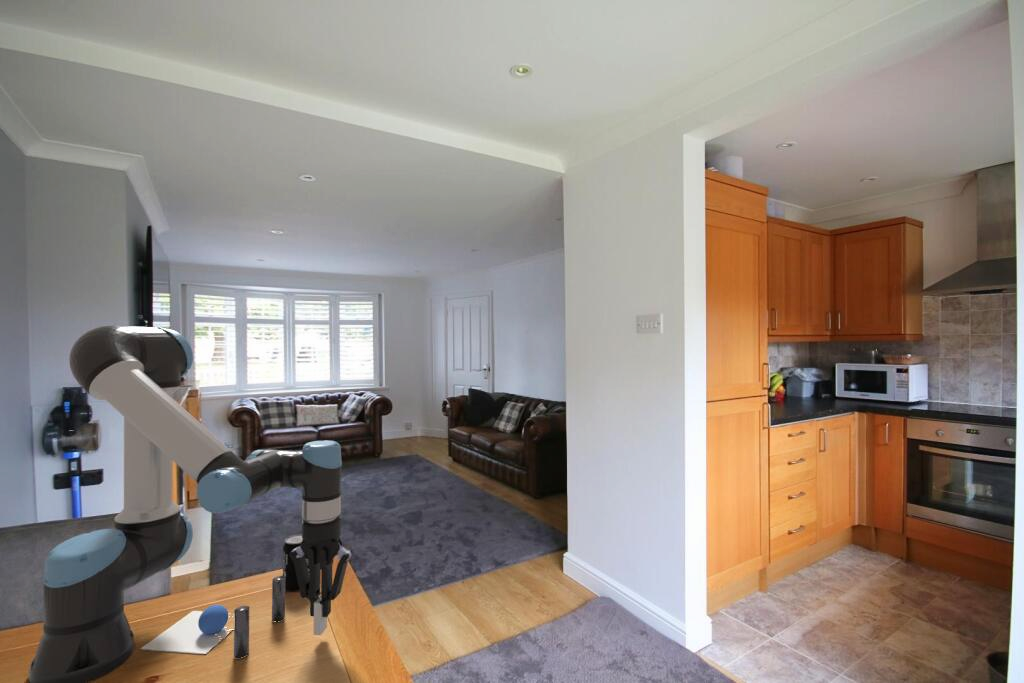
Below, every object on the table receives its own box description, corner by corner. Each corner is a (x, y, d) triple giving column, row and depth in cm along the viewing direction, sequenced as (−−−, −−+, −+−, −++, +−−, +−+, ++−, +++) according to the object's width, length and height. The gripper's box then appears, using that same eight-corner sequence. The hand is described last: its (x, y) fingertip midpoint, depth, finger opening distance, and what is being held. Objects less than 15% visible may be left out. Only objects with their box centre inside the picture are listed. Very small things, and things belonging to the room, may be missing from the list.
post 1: (230, 658, 95) (231, 612, 95) (239, 650, 98) (240, 605, 98) (243, 659, 95) (243, 613, 95) (251, 651, 97) (252, 606, 97)
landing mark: (140, 649, 98) (140, 648, 98) (193, 611, 112) (193, 610, 112) (205, 654, 96) (205, 653, 96) (250, 615, 110) (250, 614, 110)
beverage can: (300, 593, 120) (300, 544, 120) (276, 590, 121) (277, 542, 121) (316, 581, 126) (316, 534, 126) (293, 578, 128) (294, 532, 128)
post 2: (269, 622, 108) (269, 581, 108) (276, 615, 110) (276, 575, 110) (280, 622, 107) (281, 581, 107) (287, 616, 110) (287, 576, 110)
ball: (218, 616, 101) (214, 642, 101) (236, 602, 106) (232, 627, 106) (194, 610, 101) (190, 637, 101) (212, 597, 107) (209, 622, 107)
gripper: (359, 512, 104) (358, 623, 104) (301, 509, 106) (300, 619, 106) (343, 525, 97) (342, 644, 97) (281, 522, 98) (280, 639, 98)
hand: (320, 631), depth 101 cm, fingers closed
